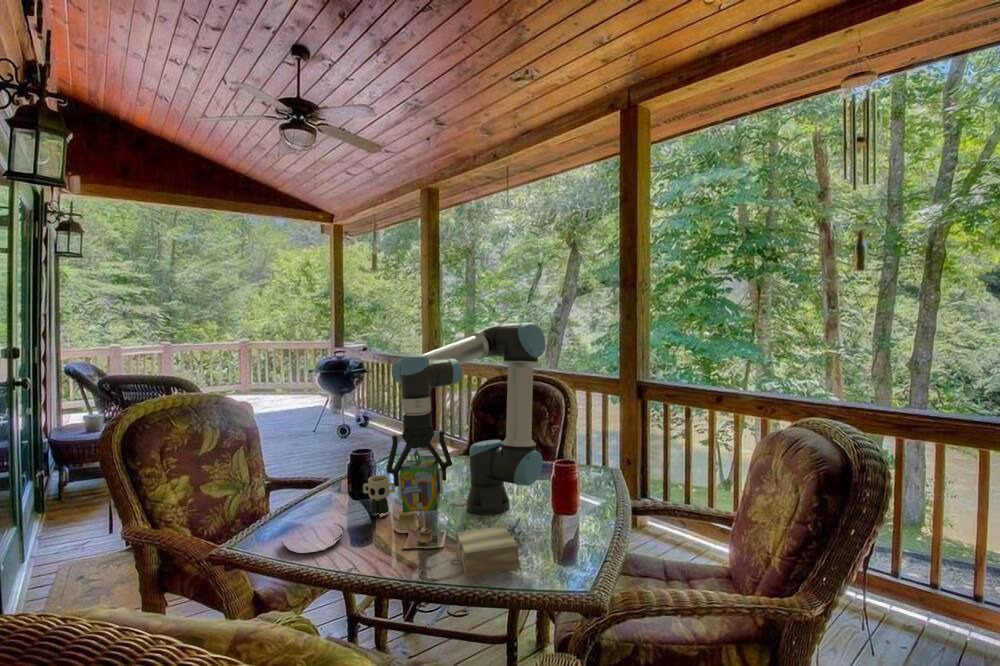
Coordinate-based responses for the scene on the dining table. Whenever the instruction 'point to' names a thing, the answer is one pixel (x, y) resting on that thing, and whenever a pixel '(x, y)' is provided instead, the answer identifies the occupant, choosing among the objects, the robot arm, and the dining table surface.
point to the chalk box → (420, 484)
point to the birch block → (487, 550)
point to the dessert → (430, 537)
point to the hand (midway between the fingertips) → (421, 495)
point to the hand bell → (407, 521)
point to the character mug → (379, 493)
